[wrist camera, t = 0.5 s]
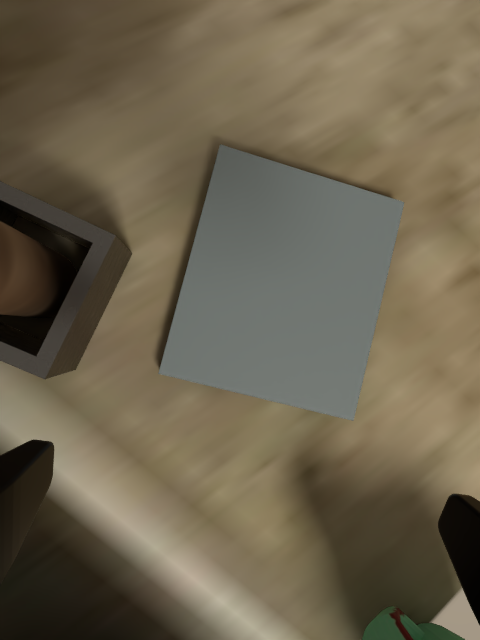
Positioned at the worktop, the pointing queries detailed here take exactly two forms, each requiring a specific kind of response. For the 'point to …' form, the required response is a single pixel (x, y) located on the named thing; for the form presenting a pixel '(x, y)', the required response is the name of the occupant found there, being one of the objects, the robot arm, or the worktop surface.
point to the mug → (404, 628)
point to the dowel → (31, 276)
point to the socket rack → (82, 298)
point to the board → (282, 285)
